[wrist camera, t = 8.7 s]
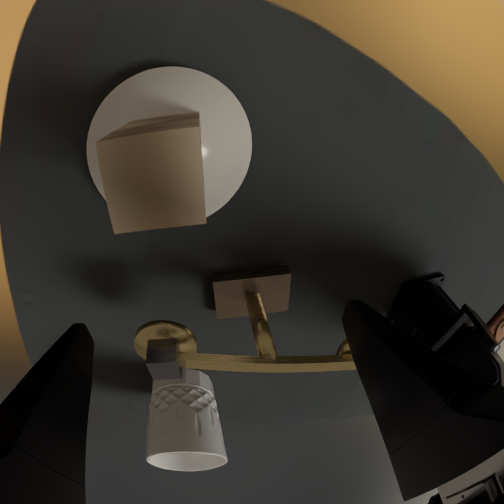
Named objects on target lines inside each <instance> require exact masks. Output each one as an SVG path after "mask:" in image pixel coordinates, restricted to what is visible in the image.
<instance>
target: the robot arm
mask: <svg viewBox="0 0 504 504" xmlns="http://www.w3.org/2000/svg"><path fill="white" fill-rule="evenodd" d="M444 280H445V276H444V275H443V274H440V275H436V276H431V277H427V278H422V279H417V280H412V281H407V282H405V283H404V284H403V286H402V288H401V291H400V293H399V296H398V299H397V301H396V304H395V306H394V309H393V311H392V314H391V316H390V319H387V318H386V317H384V316H383V315H381V314H380V313H379V312H377V311H376V310H374V309H373V308H371V307H370V306H368V305H367V304H365V303H364V302H362V301H361V300H359V299H355V300H349V301H348V302H347V303H346V306H345V310H344V313H343V317H342V323H343V327H344V330H345V334H346V337H347V341H348V344H349V348H350V351H351V355H352V358H353V361H354V364H355V366H356V369H357V371H358V374H359V376H360V379H361V381H362V384H363V386H364V389H365V391H366V394H367V397H368V399H369V402H370V404H371V407H372V410H373V412H374V415H375V417H376V420H377V423H378V426H379V428H380V431H381V434H382V437H383V440H384V443H385V445H386V448H387V451H388V454H389V457H390V460H391V463H392V466H393V469H394V472H395V475H396V478H397V481H398V484H399V487H400V491H401V494H402V497H403V500H404V501H407V500H409V499H412V498H414V497H417V496H419V495H422V494H424V493H426V492H428V491H431V490H433V489H435V488H437V489H438V492H439V493H437V494H436V495H434V496H432V497H431V498H430V500H429V502H428V504H504V362H503V361H502V359H501V358H500V356H499V355H498V353H497V351H498V350H499V349H500V345H499V344H498V342H497V340H496V339H495V337H494V336H493V334H492V332H491V331H490V329H489V328H488V326H487V325H486V324H485V322H484V321H483V320H482V319H481V318H480V317H479V315H478V314H477V313H476V312H475V311H474V310H472V309H471V308H470V307H469V306H468V305H466V304H464V305H463V306H462V308H461V309H459V308H458V307H457V306H456V305H455V303H454V302H453V301H452V300H451V299H450V297H449V296H448V295H447V294H446V293H445V292H444V291H443V289H442V288H441V287H442V285H443V283H444ZM472 324H474V325H473V326H471V325H472ZM93 352H94V341H93V338H92V336H91V335H90V333H89V331H88V329H87V327H86V325H85V324H83V323H75V324H73V325H72V326H71V327H70V328H69V329H68V330H67V331H66V332H65V333H64V334H63V335H62V336H61V337H60V338H59V339H58V340H57V341H56V342H55V343H54V344H53V345H52V347H51V348H50V349H49V350H48V351H47V352H46V353H45V354H44V355H43V356H42V357H41V358H40V359H39V361H38V362H37V363H36V364H35V365H34V366H33V367H32V368H31V370H30V371H29V372H28V373H27V374H26V375H25V377H23V379H22V380H21V381H20V382H19V383H18V384H17V386H16V388H14V389H13V390H12V391H11V393H10V394H9V395H8V396H7V397H6V398H5V400H4V401H3V402H2V403H1V404H0V504H86V497H85V457H86V437H87V424H88V412H89V404H90V395H91V387H92V371H93Z"/></svg>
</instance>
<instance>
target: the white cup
mask: <svg viewBox="0 0 504 504" xmlns="http://www.w3.org/2000/svg"><path fill="white" fill-rule="evenodd" d="M146 461H147V462H148V463H149V464H151V465H153V466H156V467H159V468H163V469H168V470H176V471H201V470H208V469H213V468H217V467H220V466H222V465H224V464H226V463H227V461H228V460H227V455H226V450H225V445H224V440H223V436H222V430H221V424H220V420H219V415H218V412H217V405H216V401H215V398H214V393H213V386H212V382H211V380H210V378H209V376H208V375H207V374H205V373H203V372H201V371H200V370H197V369H192V368H183V367H182V379H171V380H153V388H152V396H151V399H150V407H149V418H148V431H147V451H146Z"/></svg>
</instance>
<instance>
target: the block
mask: <svg viewBox="0 0 504 504" xmlns="http://www.w3.org/2000/svg"><path fill="white" fill-rule="evenodd" d="M95 143H96V150H97V156H98V162H99V167H100V172H101V178H102V183H103V188H104V192H105V197H106V201H107V206H108V210H109V214H110V218H111V222H112V226H113V230H114V234H120V233H128V232H136V231H144V230H153V229H162V228H170V227H180V226H189V225H199V224H206V209H205V192H204V175H203V162H202V147H201V132H200V114H199V112H197V113H186V114H177V115H169V116H161V117H154V118H148V119H141V120H135V121H130V122H128V123H126V124H125V125H123V126H121V127H119V128H118V129H116V130H114V131H113V132H111V133H109V134H108V135H106V136H105V137H103V138H101V139H100V140H98V141H97V142H95Z"/></svg>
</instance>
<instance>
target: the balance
mask: <svg viewBox="0 0 504 504" xmlns="http://www.w3.org/2000/svg"><path fill="white" fill-rule="evenodd" d="M212 281H213V289H214V298H215V306H216V314H217V320H218V319H228V318H236V317H245V316H249V317H250V321H251V326H252V330H253V334H254V339H255V343H256V347H257V351H258V356H242V355H220V354H204V353H196V351H197V341H196V337H195V335H194V333H193V332H192V331H191V330H190V329H189V328H187V327H186V326H184V325H182V324H180V323H177V322H174V321H168V320H156V321H151V322H148V323H145V324H143V325H142V326H141V327H139V328H138V330H137V331H136V334H135V339H134V347H135V350H136V352H137V353H138V354H139V355H140V356H141V357H142V358H143V359H145V360H146V366H147V368H148V370H149V372H150V374H151V376H152V378H153V380H171V379H182V367H183V368H194V369H206V370H220V371H240V372H319V371H339V370H356V366H355V364H354V361H353V358H352V355H351V351H350V348H349V344H348V341H347V338H346V339H345V340H344V341H343V342H342V344H341V345H340V346H339V348H338V350H337V353H336V355H322V356H278V355H277V352H276V348H275V345H274V342H273V338H272V335H271V331H270V328H269V324H268V321H267V318H266V314H268V313H275V312H282V311H288V304H289V293H290V283H291V272H290V270H289V267H288V266H284V267H275V268H266V269H257V270H248V271H239V272H229V273H220V274H212Z"/></svg>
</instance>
